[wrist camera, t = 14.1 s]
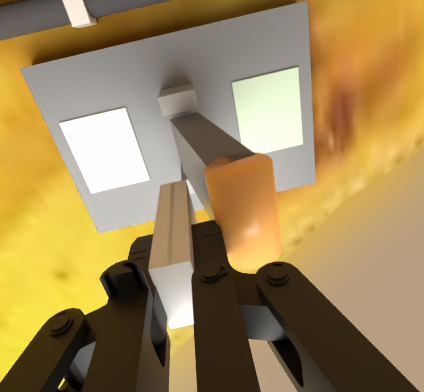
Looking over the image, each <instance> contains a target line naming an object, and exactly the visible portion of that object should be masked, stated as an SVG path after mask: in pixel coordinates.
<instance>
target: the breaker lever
mask: <svg viewBox="0 0 424 392" xmlns="http://www.w3.org/2000/svg"><path fill="white" fill-rule="evenodd" d="M172 118H173V119H169V120H170V124H171V127H172V131H173V135H174V138H175V142H176V146H177V149H178V153H179V156H180V160H181V164H182V167H183V171H184V173H185V175H186V177H187V179H188V181H189V182H190V184H191V186H192V188H193V189H194V191H195V193H196V195H197V196H198V198H199V200H200V202H201V203H202V205H203V207H204V209H205V211H206V212H207V214H208V216H209V218H210V219H211V220H215V221H216V223H217V224H218V225H219V226H220V227H221V230H222V235H223V239H224V243H225V247H226V252H227V256H228V260H229V263H230V264H231V265H233V266H235V267H237V268H241V269H257V268H260V267H262V266H264V265H265V264H267V263H271V262H274V261H275V260H276V259H277V258H278V257H279V256H280V254H281V252H282V239H281V230H280V222H279V213H278V205H277V196H276V187H275V179H274V170H273V162H272V159H271V157H269V156H268V155H266V154H263V153H258V152H252V151H251V150H250V149H248V148H247V147H245V146H244V145H243V144H241V143H240V142H238V141H237V140H236V139H234V138H233V137H232V136H230V135H229V134H227V133H226V132H225V131H223V130H222V129H221V128H219V127H218V126H216V125H215V124H214V123H212V122H211V121H210V120H208V119H207V118H205V117H204V116H203V115H201V114H200V113H198V112H194V113H192V112H191V111H184V112H180V113H177V114H175V115H173V116H172Z"/></svg>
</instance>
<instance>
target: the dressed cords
mask: <svg viewBox="0 0 424 392" xmlns="http://www.w3.org/2000/svg"><path fill="white" fill-rule="evenodd" d="M165 1H169V0H24V1H20V2H16V3H12V4H7V5H3V6H0V40H5V39H9V38H13V37H17V36H21V35H26V34H30V33H34V32H38V31H43V30H47V29H51V28H55V27H59V26H64V25H68V24H72V27H77V28H83V27H87V26H92V25H96V24H98V23H97V21H96V18H97V17H102V16H106V15H110V14H114V13H118V12H123V11H127V10H131V9H135V8H139V7H144V6H148V5H152V4H156V3H161V2H165Z"/></svg>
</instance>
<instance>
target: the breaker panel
mask: <svg viewBox="0 0 424 392" xmlns="http://www.w3.org/2000/svg"><path fill="white" fill-rule="evenodd" d="M20 71H21V73H22V75H23V77H24V79H25V81H26V83H27V85H28V87H29V89H30V91H31V93H32V96H33V98H34V100H35V102H36V104H37V106H38V108H39V110H40V112H41V114H42V116H43V119H44V121H45V123H46V125H47V127H48V129H49V131H50V133H51V135H52V137H53V139H54V141H55V144H56V146H57V148H58V150H59V152H60V154H61V156H62V158H63V160H64V162H65V164H66V167H67V169H68V171H69V173H70V175H71V177H72V179H73V181H74V183H75V185H76V187H77V190H78V192H79V194H80V196H81V198H82V200H83V202H84V204H85V206H86V208H87V210H88V212H89V215H90V217H91V219H92V221H93V223H94V225H95V227H96V229H97V231H98V233H102V232H106V231H111V230H115V229H119V228H124V227H128V226H132V225H137V224H141V223H145V222H149V221H154V220H155V219H156V212H157V205H158V198H159V191H160V185H163V184H167V183H172V182H177V181H181V180H185V179H186V181H187V185H188V189H189V193H190V196H191V200H192V204H193V208H194V211H197V210H201V209H204V207H203V205H202V203H201V202H200V200H199V198H198V196H197V195H196V193H195V191H194V189H193V188H192V186H191V184H190V182H189V181H188V179H187V177H186V175H185V173H184V171H183V167H182V164H181V160H180V156H179V153H178V149H177V146H176V142H175V138H174V135H173V131H172V127H171V124H170V120H169V119H173V118H172V116H173V115H175V114H177V113H180V112H184V111H191V112H192V113H194V112H198V113H200V114H201V115H203V116H204V117H205V118H207V119H208V120H210V121H211V122H212V123H214V124H215V125H216V126H218V127H219V128H221V129H222V130H223V131H225V132H226V133H227V134H229V135H230V136H232V137H233V138H234V139H236V140H237V141H238V142H240V143H241V144H243V145H244V146H245V147H247V148H248V149H250V150H251V151H252V152H258V153H263V154H266V155H268V156H269V157H271V159H272V162H273V170H274V179H275V187H276V192H279V191H283V190H288V189H292V188H296V187H300V186H305V185H309V184H313V183H316V179H315V156H314V133H313V110H312V87H311V64H310V41H309V18H308V0H307V1H303V2H299V3H294V4H290V5H286V6H282V7H278V8H273V9H269V10H265V11H261V12H256V13H252V14H248V15H244V16H239V17H235V18H231V19H227V20H223V21H218V22H214V23H210V24H206V25H201V26H197V27H193V28H189V29H184V30H180V31H176V32H172V33H168V34H163V35H159V36H155V37H151V38H146V39H142V40H138V41H134V42H129V43H125V44H121V45H117V46H113V47H108V48H104V49H100V50H96V51H91V52H87V53H83V54H79V55H74V56H70V57H66V58H62V59H58V60H53V61H49V62H45V63H41V64H36V65H32V66H28V67H24V68H20Z"/></svg>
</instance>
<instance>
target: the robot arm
mask: <svg viewBox="0 0 424 392" xmlns="http://www.w3.org/2000/svg"><path fill="white" fill-rule="evenodd" d="M100 281H101V283H102V285H103V287H104V289H105V291H106V293H107V295H108V297H109V299H108V303H107V304H106V305H105V306H103V307H101V308H99V309H97V310H95V311H93V312H91V313H88V314H86V315H84V313H83V312H82V311H81V310H80V309H76V308H70V309H65V310H63V311H61V312H59V313H57V314H55V315H54V316H52V317H51V318H50V319H49V320H48V321H47V322H46V323H45V324H44V325H43V326H42V327H41V329H40V330H39V331H38V333H37V334H36V335H35V337H34V338H33V339H32V341H31V342H30V343H29V345H28V346H27V347H26V349H25V350H24V352H23V353H22V354H21V356H20V357H19V358H18V360H17V361H16V362H15V364H14V365H13V366H12V368H11V369H10V370H9V372H8V373H7V374H6V376H5V377H4V378H3V380H2V381H1V382H0V392H169V365H170V364H169V363H170V339H169V335H168V333H167V320H168V323H169V326H170V328H171V329H173V328H177V327H182V326H186V325H191V324H194V338H195V357H196V375H197V392H261V391H260V387H259V383H258V378H257V374H256V370H255V366H254V362H253V358H252V354H251V349H250V345H249V341H248V339H257V340H267V342H268V344H269V346H270V348H271V349H272V351H273V352H274V354H275V356H276V357H277V359H278V361H279V362H280V364H281V365H282V367H283V369H284V370H285V372H286V373H287V375H288V377H289V378H290V380H291V381H292V383H293V384H294V386H295V388H296V390H297V391H298V392H419V391H418V390H417V389H416V388H415V387H414V386H413V385H412V384H411V383H410V382H409V381H408V380H407V379H406V378H405V377H404V376H403V375H402V374H401V372H400V371H399V370H397V369H396V367H394V366H393V364H392V363H391V362H390V361H389V360H387V358H386V357H385V356H384V355H383V354H381V352H380V351H378V349H376V347H375V346H374V345H373V344H372V343H371V342H369V340H367V338H366V337H365V336H364V335H363V334H362V333H361V332H360V331H358V329H357V328H356V327H355V326H354V325H353V324H352V323H351V322H350V321H349V320H348V319H347V318H346V317H345V316H344V315H343V314H342V313H341V312H340V311H339V310H338V309H337V308H336V307H335V306H334V305H333V304H332V303H331V302H330V301H329V300H328V299H327V298H326V297H325V296H324V295H323V294H322V293H321V292H320V291H319V290H318V289H317V288H316V287H315V286H314V285H313V284H312V283H311V282H310V281H309V280H308V279H307V278H306V277H305V276H304V275H303V274H302V273H301V272H300V271H299V270H298V269H297V268H296V267H294V266H293V265H291V264H289V263H286V262H271V263H267V264H265V265H264V266H262V267H260V269H259V270H258V271H257V273H256V274H247V273H241V272H238V271H236V270H235V269H233V268H232V267H231V266H230V263H229V260H228V256H227V252H226V247H225V243H224V239H223V235H222V230H221V227H220V226H219V225H218V224H217V223H216V221H215V220H210V221H206V222H201V223H197V219H196V216H195V212H194V208H193V204H192V200H191V196H190V193H189V189H188V185H187V181H186V179H185V180H181V181H177V182H172V183H167V184H163V185H160V191H159V198H158V205H157V212H156V219H155V226H154V233H153V234H151V235H147V236H142V237H138V238H137V239H136V240H135V241H134V243H133V244H132V245H131V248H130V252H129V256H128V260H124V261H121V262H118V263H115V264H114V265H112V266H110V267H109V268H108V269H107V270H105V271H104V272H103V274H102V275H101V277H100ZM63 378H64V379H65V381H64V383H63V384H62V386H61V387H60V388H59V389H58V386H59V385H60V383H61V381H62V379H63Z"/></svg>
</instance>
